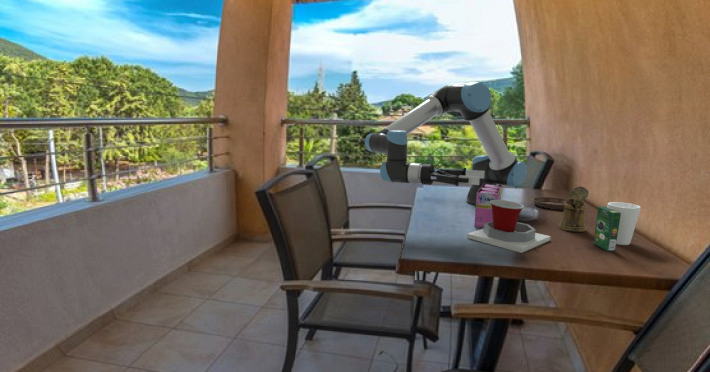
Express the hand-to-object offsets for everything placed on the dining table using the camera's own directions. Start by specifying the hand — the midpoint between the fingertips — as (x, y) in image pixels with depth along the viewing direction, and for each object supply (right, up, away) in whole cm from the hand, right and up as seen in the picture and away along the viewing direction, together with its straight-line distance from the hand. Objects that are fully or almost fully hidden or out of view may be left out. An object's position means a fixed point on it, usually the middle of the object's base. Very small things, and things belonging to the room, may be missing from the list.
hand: (482, 177), depth 143 cm
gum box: (+10, -17, +24) cm, 31 cm away
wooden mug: (+38, -20, +12) cm, 44 cm away
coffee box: (+38, -23, -8) cm, 45 cm away
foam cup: (+47, -22, -1) cm, 52 cm away
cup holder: (+9, -21, 0) cm, 23 cm away
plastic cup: (+7, -20, -2) cm, 22 cm away
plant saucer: (+49, -13, +52) cm, 73 cm away
